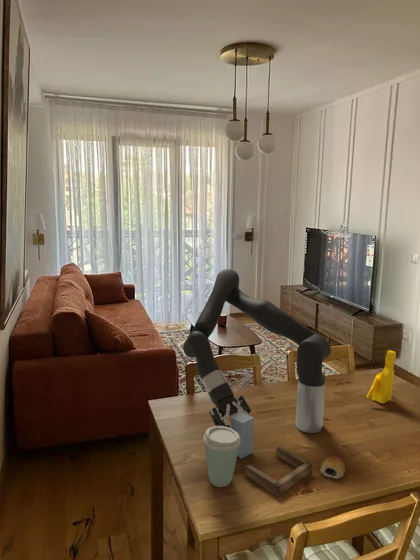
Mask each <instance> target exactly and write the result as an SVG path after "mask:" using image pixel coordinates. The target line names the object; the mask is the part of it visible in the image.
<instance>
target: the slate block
mask: <svg viewBox="0 0 420 560" xmlns="http://www.w3.org/2000/svg"><path fill="white" fill-rule="evenodd" d="M230 417H231V418H230V419H231V421H230V427H231V429H233V430H235V431H236V432H237V433H238V434H239V436H240V438H241V443H240V445H239V449H238V454H237V457H238V458H240V459H244V458H245V457H247V456H249V455H251V454H253V449H254V447H253V445H254V443H253V442H254V427H255V426H254V422H255V418H254V417H253V416H251V415H250V414H248V415H247V414H245V413H243V412H241V413H239V414H237V415H235V414H234V415H232V416H230Z"/></svg>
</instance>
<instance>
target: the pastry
mask: <svg viewBox="0 0 420 560" xmlns="http://www.w3.org/2000/svg"><path fill="white" fill-rule="evenodd" d="M345 471H346V467H345V463H344V460H343V458H340V457H339V456H336V455H332V456H328V457H326V458H325V459H323V461H322V462H321V465H320V469H319V472H320V473H321V475H322V476H325V477H328V478H331V479H332V478H333V479H335V480H337V479H342V478H343V477H344V476H345Z"/></svg>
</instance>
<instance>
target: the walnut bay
mask: <svg viewBox="0 0 420 560" xmlns="http://www.w3.org/2000/svg"><path fill="white" fill-rule="evenodd" d="M275 457H276V458H278V459H280V460H282V461H284V462H285V463H287V464H289V465H291V466H293V467H295V469H294V470H292V471H290V472H289V473H288V474H286V475H285V476H283V477H282V478H280V479H278V480H276V479H274V478H272V477H271V476H269V475H267V474H266V473H265V472H262V471H261V470H259V469H258V468H256V467H254V466H252V465H251V464H247V465H246V466H245V471H244V472H245V474H244V476H245V477H247V478H249V479H250V480H251V481H253V482H254V483H255V484H257V485H259V486H261V487H262V488H264V489H265V490H266V491H268V492H270V493H272V494H273V495H275V496H276V497H279V496H281V495H282V494H284V493H285V492H286V491H287V490H289V489H290V488H292V487H293V486H294V485H296V484H297V483H299V482H300V481H302V480H303V479H304V478H306V477H308V475H310V474H311V473H312V471H313V469H312V468H313V463H312V462H311V461H308V460H306V459H305V458H304V457H301V456H299V455H297V454H296V453H293V452H292V451H289V450H288V449H286V448H284V447H282V446H280V445H279V446H278V447H276V456H275Z"/></svg>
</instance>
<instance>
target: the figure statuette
mask: <svg viewBox="0 0 420 560" xmlns="http://www.w3.org/2000/svg"><path fill="white" fill-rule="evenodd" d="M396 357H397V352H396V351H393V350H391V349H389V350H387V352H386V355H385V358H384V359H385V361H384V362H385V365H384V367H383V369H382V371H381V372H379V373H377V374H375V378H374V379H373V380H372V381H373V383H372V385H371V387H370V389H369V391H368V392H367V395H366V396H365V397H366V398H367V399H368V400H370V399H372V401H374V402H377V403H379V404H381V405H383V404H385V403H387V402H388V401H390V400H391V397H392V393H393V382H394V377H395V370H394V365H395V362H396V359H397V358H396ZM371 397H372V398H371Z"/></svg>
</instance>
